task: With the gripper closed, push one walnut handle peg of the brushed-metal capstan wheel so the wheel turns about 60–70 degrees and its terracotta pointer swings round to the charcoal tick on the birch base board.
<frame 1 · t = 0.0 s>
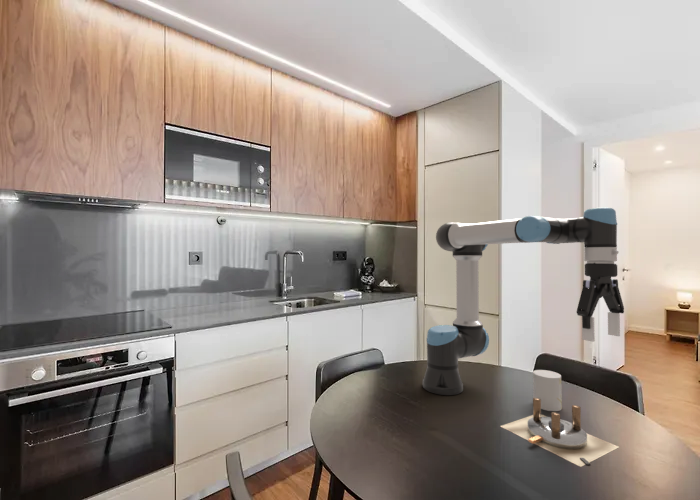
hand: (601, 338, 96), 28 cm above the table, fingers open, 13 cm apart
base board: (556, 441, 94), on the table
capstan wheel: (551, 422, 93), point 6 cm above the table, hinge at 0.0°
cup: (547, 410, 113), on the table
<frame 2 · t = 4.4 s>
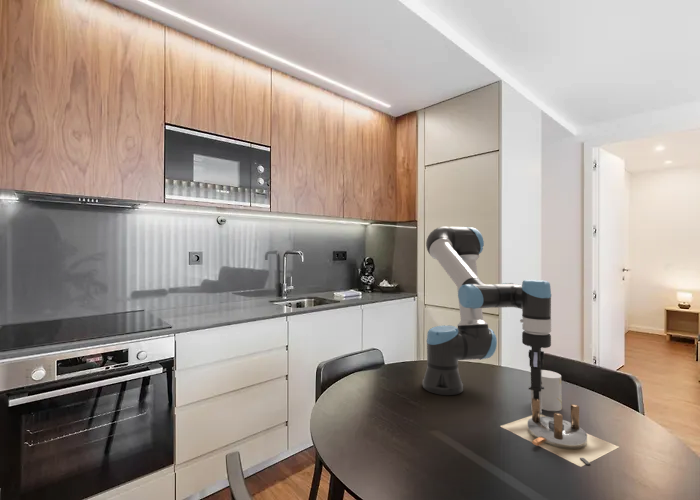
hand: (536, 411, 101), 5 cm above the table, fingers closed
capstan wheel: (552, 422, 93), point 6 cm above the table, hinge at 5.7°, touching gripper
everything else where it was.
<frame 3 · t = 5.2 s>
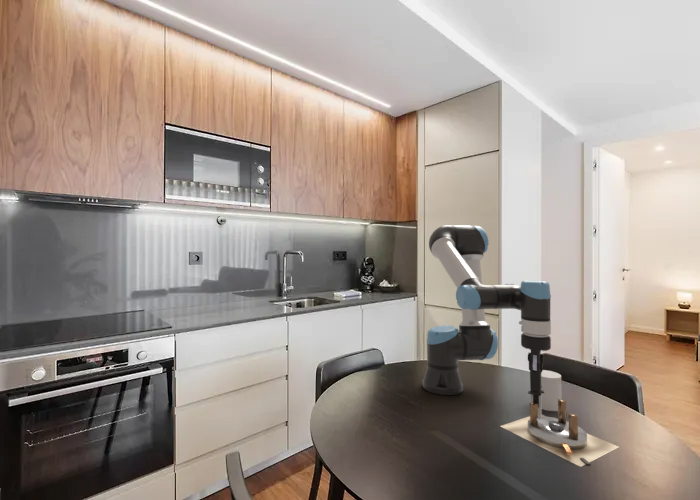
hand: (536, 416, 98), 5 cm above the table, fingers closed
capstan wheel: (558, 424, 92), point 6 cm above the table, hinge at 45.0°, touching gripper
everything else where it was.
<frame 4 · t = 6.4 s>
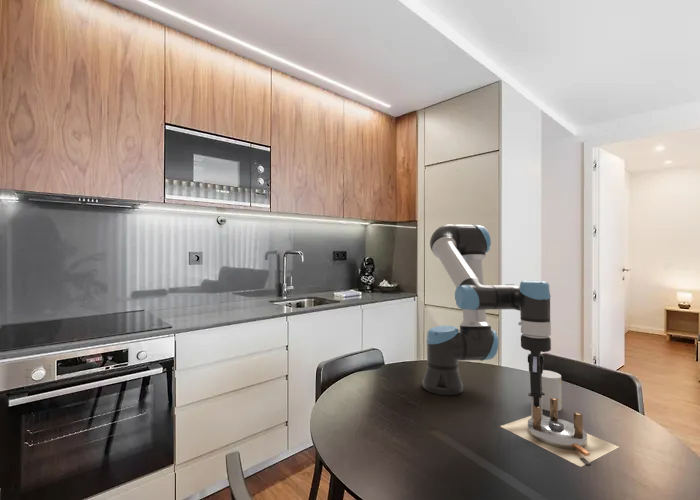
hand: (536, 419, 97), 5 cm above the table, fingers closed
capstan wheel: (561, 424, 92), point 6 cm above the table, hinge at 65.9°, touching gripper
everything else where it was.
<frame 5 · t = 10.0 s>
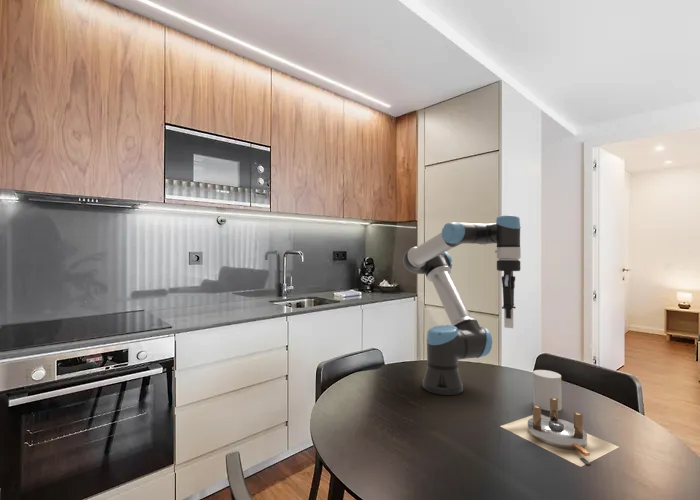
hand: (508, 327, 119), 26 cm above the table, fingers closed
capstan wheel: (561, 424, 92), point 6 cm above the table, hinge at 65.9°
everything else where it was.
at the end: capstan wheel at +66° (first picture: +0°) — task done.
